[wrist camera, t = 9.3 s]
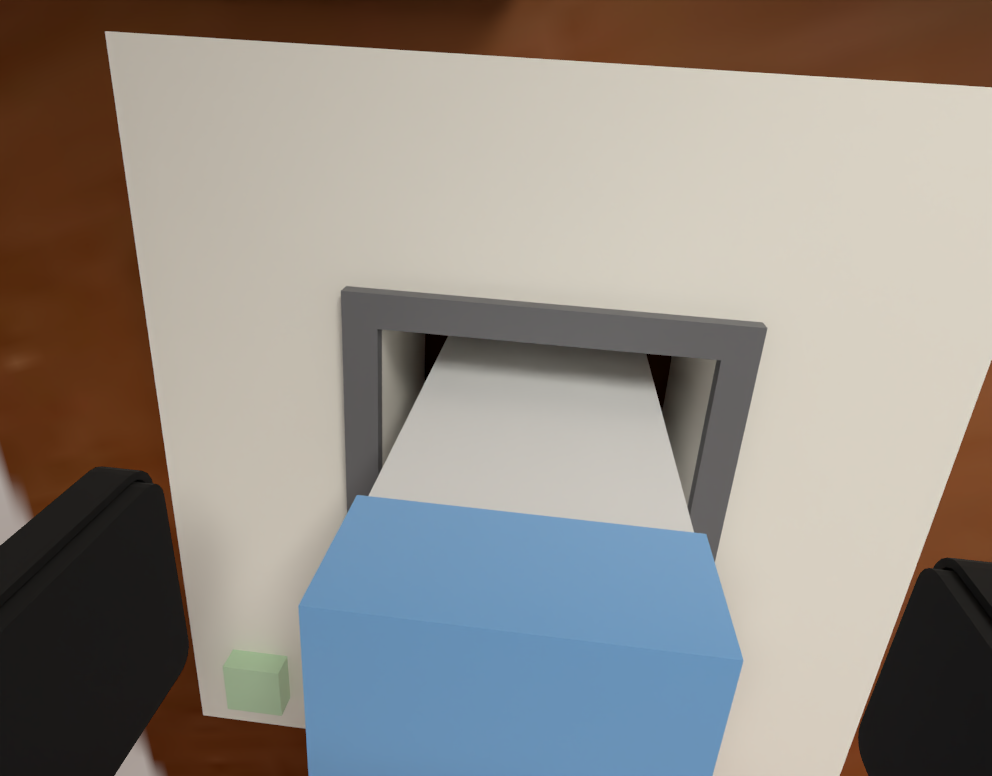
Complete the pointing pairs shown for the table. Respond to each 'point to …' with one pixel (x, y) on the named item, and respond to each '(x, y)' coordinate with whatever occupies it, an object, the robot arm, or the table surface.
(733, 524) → the port panel
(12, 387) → the table surface
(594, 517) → the plug
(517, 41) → the table surface
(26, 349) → the table surface
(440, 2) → the table surface
